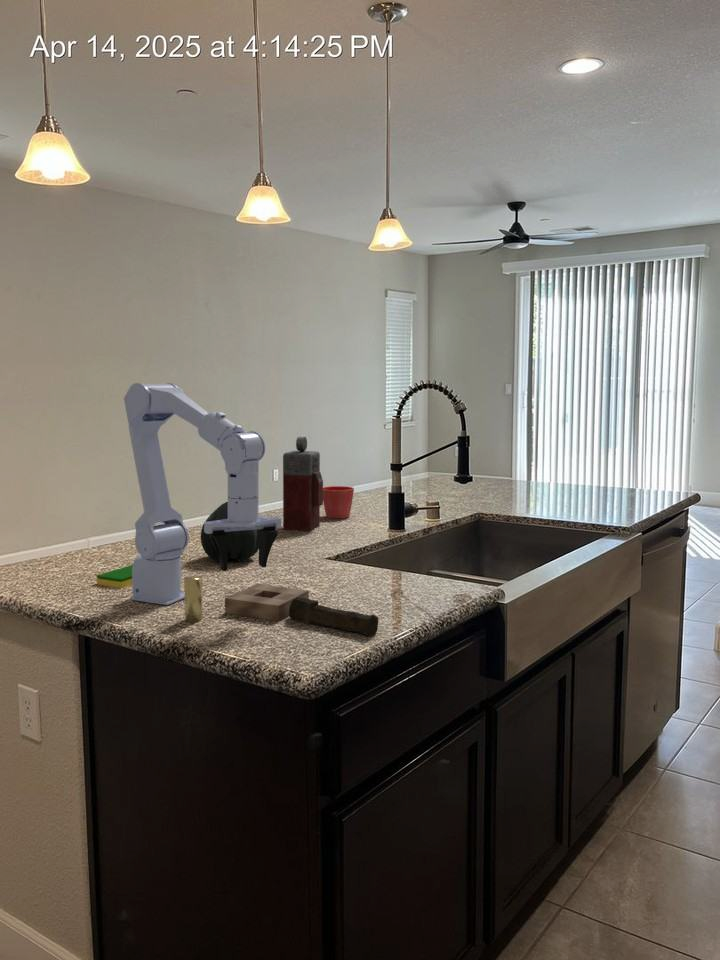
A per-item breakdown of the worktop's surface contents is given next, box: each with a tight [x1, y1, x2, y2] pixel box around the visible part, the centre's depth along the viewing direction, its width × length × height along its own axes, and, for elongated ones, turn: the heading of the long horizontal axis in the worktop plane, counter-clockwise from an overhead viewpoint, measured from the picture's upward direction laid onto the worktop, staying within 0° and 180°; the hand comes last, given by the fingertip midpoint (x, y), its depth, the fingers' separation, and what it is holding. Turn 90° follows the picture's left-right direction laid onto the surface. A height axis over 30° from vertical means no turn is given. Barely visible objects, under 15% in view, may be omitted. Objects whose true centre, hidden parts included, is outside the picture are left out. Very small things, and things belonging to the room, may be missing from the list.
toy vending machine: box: [282, 436, 324, 532], centre depth 241 cm, size 9×11×28 cm
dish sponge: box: [96, 564, 133, 589], centre depth 179 cm, size 7×14×2 cm, turn 155°
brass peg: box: [183, 575, 203, 623], centre depth 149 cm, size 3×3×8 cm
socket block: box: [224, 583, 310, 622], centre depth 156 cm, size 12×12×3 cm
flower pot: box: [323, 485, 355, 519], centre depth 263 cm, size 11×11×10 cm
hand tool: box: [288, 597, 379, 639], centre depth 146 cm, size 19×4×5 cm, turn 55°
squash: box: [200, 501, 259, 563], centre depth 200 cm, size 14×15×15 cm
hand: (243, 568), depth 150 cm, fingers open, 7 cm apart
